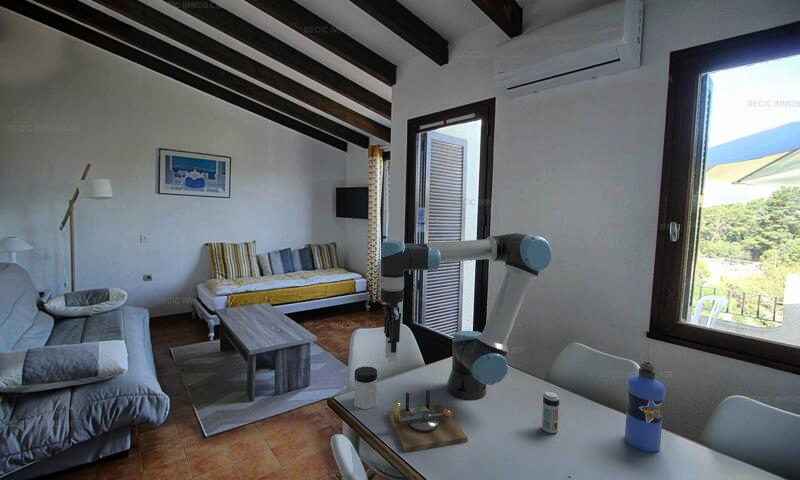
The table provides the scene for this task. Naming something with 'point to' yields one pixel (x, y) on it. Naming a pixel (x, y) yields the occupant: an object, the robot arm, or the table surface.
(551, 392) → the supplement bottle
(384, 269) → the robot arm
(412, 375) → the table surface
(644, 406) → the water bottle
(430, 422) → the grey metal domed piece
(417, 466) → the table surface
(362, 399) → the jar
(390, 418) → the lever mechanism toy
